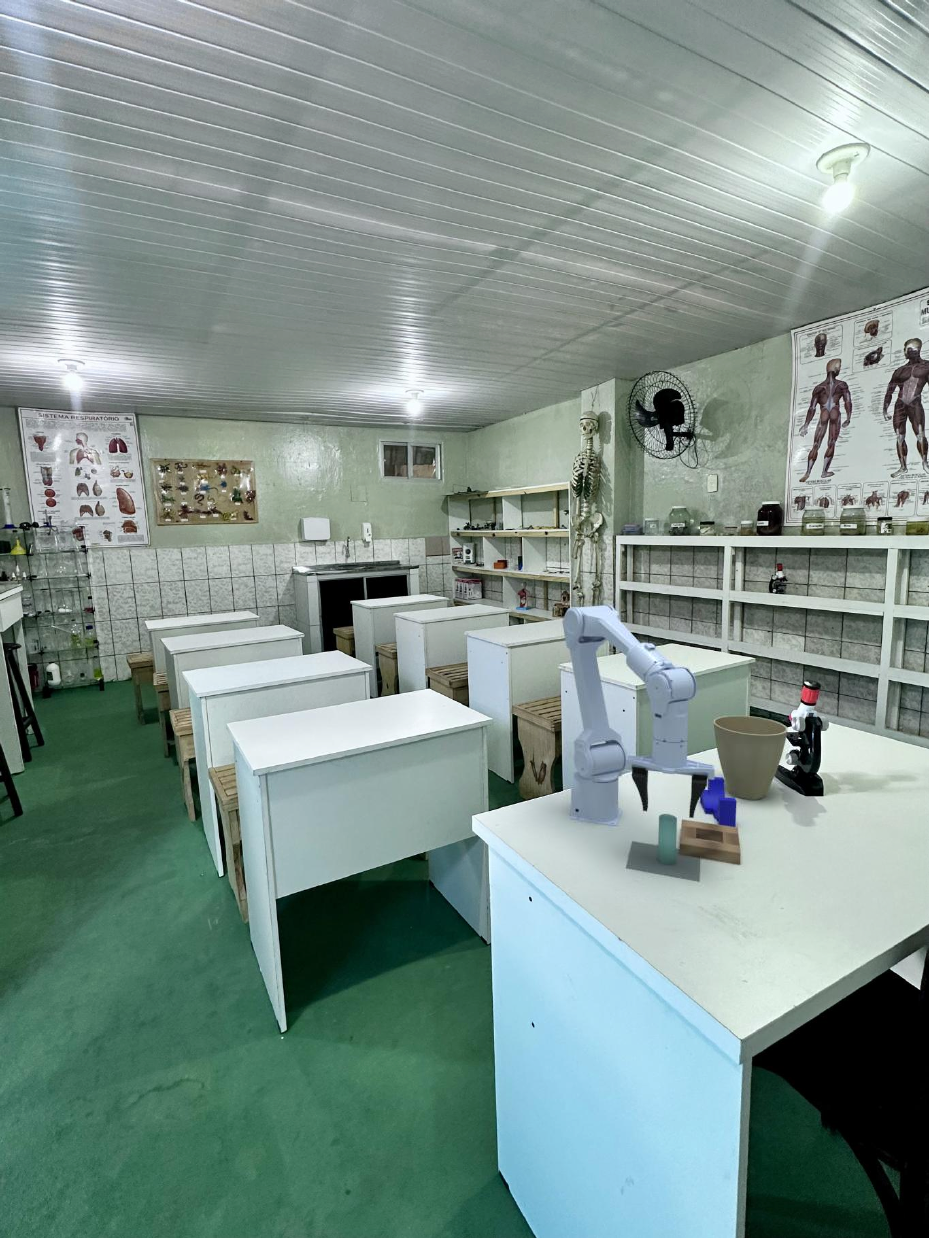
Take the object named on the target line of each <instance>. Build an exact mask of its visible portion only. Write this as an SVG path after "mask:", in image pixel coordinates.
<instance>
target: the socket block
mask: <svg viewBox="0 0 929 1238" xmlns="http://www.w3.org/2000/svg"><path fill="white" fill-rule="evenodd" d="M739 835H740V834H739V829H738V827H736V826H735V827H730V826H724V825H719V824H715V823H708V822H703V821H697V820H696V821H695V820H688V819H681V826H680V835H679V836H680V837H679V849H680V851H679V854H681V855H687V856H692V857H698V858H700V859H703V860H710V861H715V862H721V863H727V864H733V865H738V866H739V865H741V854H742V853H741V845H740V836H739Z"/></svg>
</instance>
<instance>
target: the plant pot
mask: <svg viewBox="0 0 929 1238" xmlns="http://www.w3.org/2000/svg"><path fill="white" fill-rule="evenodd" d="M713 728H714V736H715V737H714V738H715V744H716V751H717V756H718V760H719V763H720V764H719V765H720V767H721V771H722V773H723V774H722V775H723V779H724V782H725V784H726V786H727V789H728V792H729V793H730V794H731V795H734V796H735V797H737V798H741V799H746V800H760V799H763V798H764V797H766V795H767V793H768V790H769V789H770V787H771V785H772V783H773V780H774V778H775V775H776V774H777V771H778V767H779V765H780V762H781V759H782V756H783V753H784V748H785V744H786V741H787V737H788V731H789V729H788V727H787V726H786V725H784V724H783V723H781V722H779V721H776V720H773V719H768V718H763V717H758V716H753V715H752V716H750V715H749V716H748V715H724V716H719V717H717V718H715V719H713Z"/></svg>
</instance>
